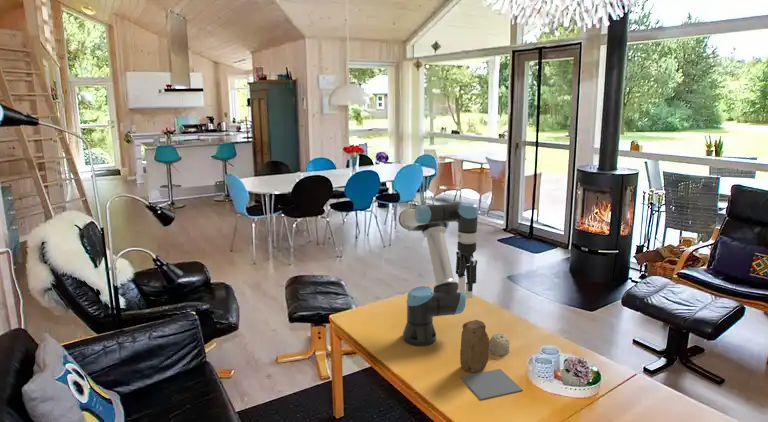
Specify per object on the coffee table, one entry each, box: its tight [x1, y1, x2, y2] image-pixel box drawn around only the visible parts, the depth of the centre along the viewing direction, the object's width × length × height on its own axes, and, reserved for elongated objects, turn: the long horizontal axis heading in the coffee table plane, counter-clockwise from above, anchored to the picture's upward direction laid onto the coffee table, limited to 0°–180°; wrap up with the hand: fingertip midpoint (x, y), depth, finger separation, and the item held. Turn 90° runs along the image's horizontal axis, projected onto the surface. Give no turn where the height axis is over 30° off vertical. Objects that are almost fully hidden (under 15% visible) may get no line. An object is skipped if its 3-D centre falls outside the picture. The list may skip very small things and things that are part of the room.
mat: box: [459, 368, 523, 401], centre depth 204 cm, size 16×18×1 cm
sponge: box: [489, 332, 511, 357], centre depth 230 cm, size 9×10×10 cm
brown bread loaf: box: [459, 319, 490, 373], centre depth 214 cm, size 11×8×20 cm
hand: (465, 294), depth 219 cm, fingers open, 6 cm apart
